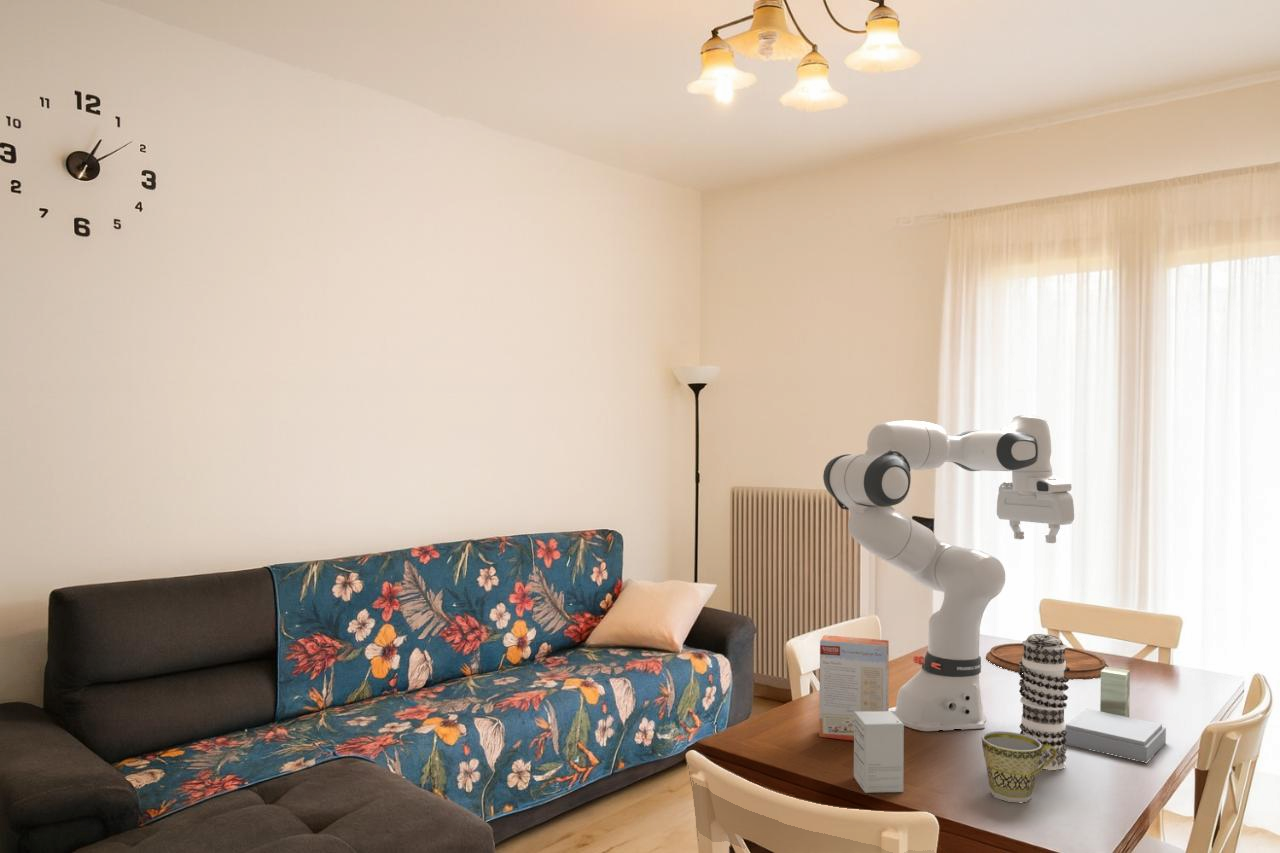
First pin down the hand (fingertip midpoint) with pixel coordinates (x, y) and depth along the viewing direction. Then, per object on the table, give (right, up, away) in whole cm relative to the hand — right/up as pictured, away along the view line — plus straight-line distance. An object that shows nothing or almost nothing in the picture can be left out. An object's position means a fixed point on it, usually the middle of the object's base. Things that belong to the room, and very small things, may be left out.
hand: (1034, 540), depth 213 cm
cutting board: (+21, -40, +39) cm, 60 cm away
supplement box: (-51, -39, -49) cm, 80 cm away
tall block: (+13, -40, -12) cm, 43 cm away
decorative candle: (-15, -40, -36) cm, 56 cm away
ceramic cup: (-26, -39, -53) cm, 71 cm away
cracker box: (-49, -39, -23) cm, 67 cm away
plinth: (+6, -40, -25) cm, 47 cm away
